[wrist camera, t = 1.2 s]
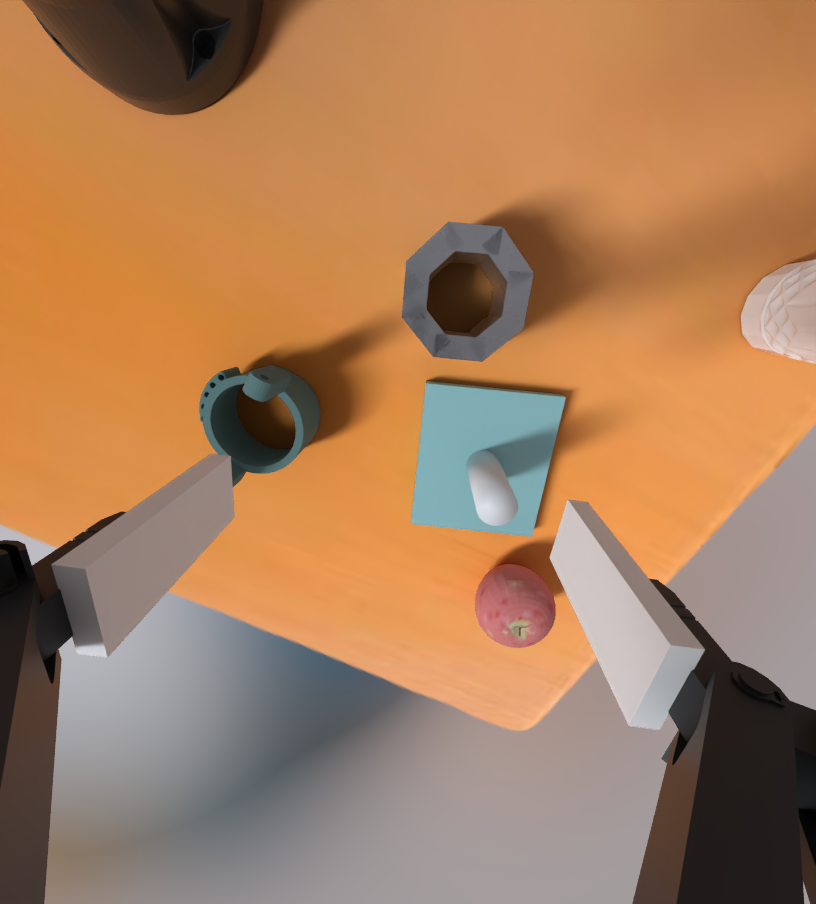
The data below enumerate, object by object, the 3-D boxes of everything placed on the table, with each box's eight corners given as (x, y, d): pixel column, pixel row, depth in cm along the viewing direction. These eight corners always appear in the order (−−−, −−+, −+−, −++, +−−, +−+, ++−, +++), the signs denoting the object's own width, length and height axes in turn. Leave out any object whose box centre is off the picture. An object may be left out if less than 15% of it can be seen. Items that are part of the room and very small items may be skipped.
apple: (459, 590, 41) (465, 652, 34) (491, 538, 39) (505, 593, 31) (518, 614, 42) (537, 679, 35) (554, 565, 40) (583, 624, 32)
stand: (426, 380, 33) (425, 405, 25) (561, 394, 33) (607, 423, 25) (411, 517, 38) (406, 577, 30) (529, 530, 38) (557, 593, 30)
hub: (413, 235, 30) (409, 218, 24) (520, 245, 29) (542, 230, 24) (404, 346, 33) (398, 353, 27) (501, 355, 32) (516, 365, 27)
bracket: (308, 355, 33) (266, 369, 25) (330, 451, 36) (299, 493, 28) (213, 369, 34) (142, 387, 26) (243, 461, 37) (188, 505, 29)
